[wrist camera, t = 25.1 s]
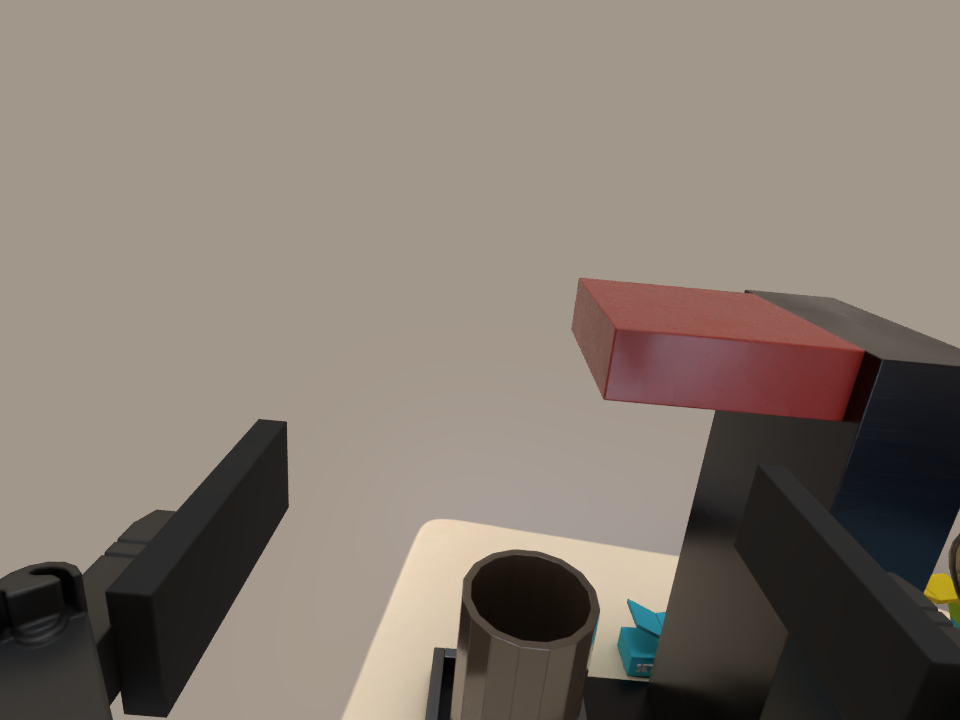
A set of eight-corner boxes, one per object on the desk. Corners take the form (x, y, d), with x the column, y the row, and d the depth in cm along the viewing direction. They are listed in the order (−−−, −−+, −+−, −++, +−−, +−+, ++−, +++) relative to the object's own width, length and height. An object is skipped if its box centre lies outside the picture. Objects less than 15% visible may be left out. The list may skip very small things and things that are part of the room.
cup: (441, 819, 32) (458, 641, 28) (450, 700, 40) (465, 544, 35) (574, 830, 32) (611, 655, 28) (559, 709, 40) (587, 555, 35)
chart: (628, 678, 44) (666, 512, 39) (617, 645, 47) (651, 487, 42) (998, 692, 46) (1079, 535, 41) (965, 659, 49) (1036, 509, 44)
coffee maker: (405, 891, 30) (445, 325, 20) (432, 672, 43) (464, 261, 33) (797, 925, 30) (1038, 379, 20) (707, 696, 43) (825, 294, 33)
